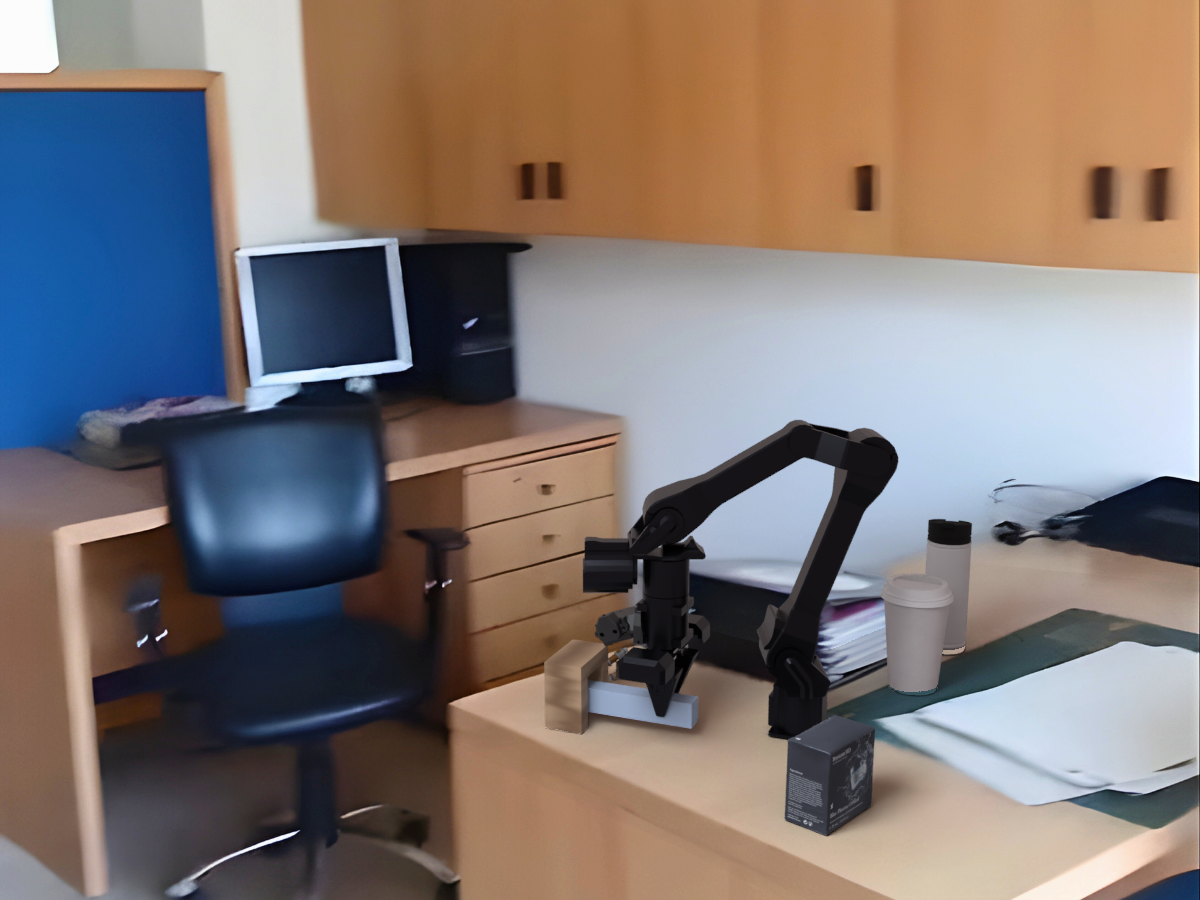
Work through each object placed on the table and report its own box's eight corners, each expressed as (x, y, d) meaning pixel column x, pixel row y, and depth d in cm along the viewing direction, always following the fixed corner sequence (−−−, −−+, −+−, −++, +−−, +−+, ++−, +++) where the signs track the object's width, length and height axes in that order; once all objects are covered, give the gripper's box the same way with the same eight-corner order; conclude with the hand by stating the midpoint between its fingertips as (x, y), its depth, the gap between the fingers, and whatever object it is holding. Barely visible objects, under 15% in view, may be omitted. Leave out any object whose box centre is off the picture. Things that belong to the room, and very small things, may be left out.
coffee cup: (963, 689, 169) (969, 583, 166) (919, 706, 163) (924, 597, 160) (905, 669, 177) (910, 567, 174) (862, 685, 171) (866, 580, 168)
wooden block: (608, 707, 163) (608, 644, 162) (581, 734, 155) (581, 667, 154) (573, 702, 165) (572, 639, 164) (545, 728, 157) (544, 662, 155)
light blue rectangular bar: (697, 720, 155) (698, 696, 155) (691, 728, 153) (691, 704, 152) (579, 701, 161) (579, 678, 160) (571, 709, 159) (571, 685, 158)
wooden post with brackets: (640, 671, 174) (628, 645, 172) (592, 702, 171) (580, 676, 170) (634, 667, 175) (622, 641, 174) (587, 698, 173) (575, 672, 171)
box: (827, 838, 130) (830, 753, 128) (782, 821, 133) (785, 738, 131) (873, 807, 136) (877, 726, 134) (830, 791, 140) (832, 712, 138)
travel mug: (918, 653, 183) (925, 521, 179) (925, 639, 189) (931, 511, 185) (962, 658, 180) (970, 525, 177) (967, 644, 186) (974, 514, 183)
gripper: (631, 565, 164) (630, 677, 167) (575, 606, 147) (575, 730, 150) (712, 574, 160) (710, 689, 163) (664, 618, 143) (663, 745, 146)
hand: (664, 711), depth 155 cm, fingers closed on light blue rectangular bar, 3 cm apart
